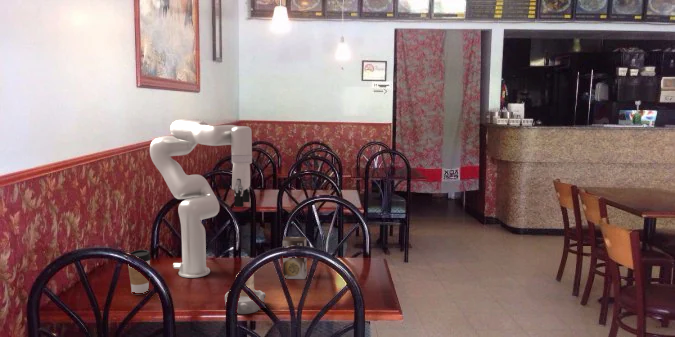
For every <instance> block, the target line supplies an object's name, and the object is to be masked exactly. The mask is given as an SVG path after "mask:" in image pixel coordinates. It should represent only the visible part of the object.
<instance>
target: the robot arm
mask: <svg viewBox="0 0 675 337" xmlns="http://www.w3.org/2000/svg"><path fill="white" fill-rule="evenodd" d="M169 131H170V134H171V135H168V136H166V135H165V136H160V137H156V138H154V139H153V140H152V141H151V143H150V144H149V145H150V146H149V156H150V158H151V161H152V163H153V165H154V166H155V168H156V169H157V170H158V172H159V173H160V174H161V176H162V177H163V179H164V182H165V183H166V185H167V187H168V189H169V191H170V193H171V194H172V195H173V197H174V198H175V199H177V200H182V201H181V202H180V203H179V205H178V209H177V210H178V217H179V222H180V231H181V232H180V233H181V261H182V262H173V264H172V267H173V269H175V270H176V269H179V271H178V275H179V276H180V277H182V278H187V279H188V278H189V279H195V278H196V279H197V278H201V277H205V276H207V275H209V274H210V273H211V269H210V268H209V267H207V252H206V251H207V249H206V248H207V247H206V246H207V243H206V239H207V238H206V237H207V236H206V229H205V226H204V225H203V223H202V220H205V219H206V220H207V219H211V218H215V217H216V216H217V215H218V213H219V212H220V202H219V200H218V198H217V197H216V195H215V192H214V191H213V189H212V187H211V185H210V184H209V182H208V180H207V179H206V178H205V177H204V176H203V175H201V174H190V175H189V174H187V173H185V171H184V169H183V168H182V165H181V164H180V163H179V162H177V161H176V160H175V159H173V158H172V157H176V156H186V155H189V154H190V153H191V152H192V151H193V150H194V149H195V148H196V147H197V145H198V144H199V145H203V146H204V145H205V146H210V147H211V146H212V147H217V146H218V147H219V146H231V147H230V148H231V149H230V151H231V164H232V174H231V175H232V176H231V177H232V178H231V189H232V190H233V191H234V207H236V208H244V206H245V205H244V203H250V200H251V199H250V198H251V196H250V192H251V191H250V187H251V164H252V163H253V152H252V151H253V146H252V145H253V144H252V142H253V141H252V140H253V138H252V137H253V136H252V134H253V133H252V132H253V131H252V128H251V127H250V126H245V125H244V126H243V125H242V126H241V125H233V124H223V125H208V123H207V122H206V121H204V120H201V119H199V118H180V119H176V120H174V121H173V122H172V123H171V124H170V128H169Z"/></svg>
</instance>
